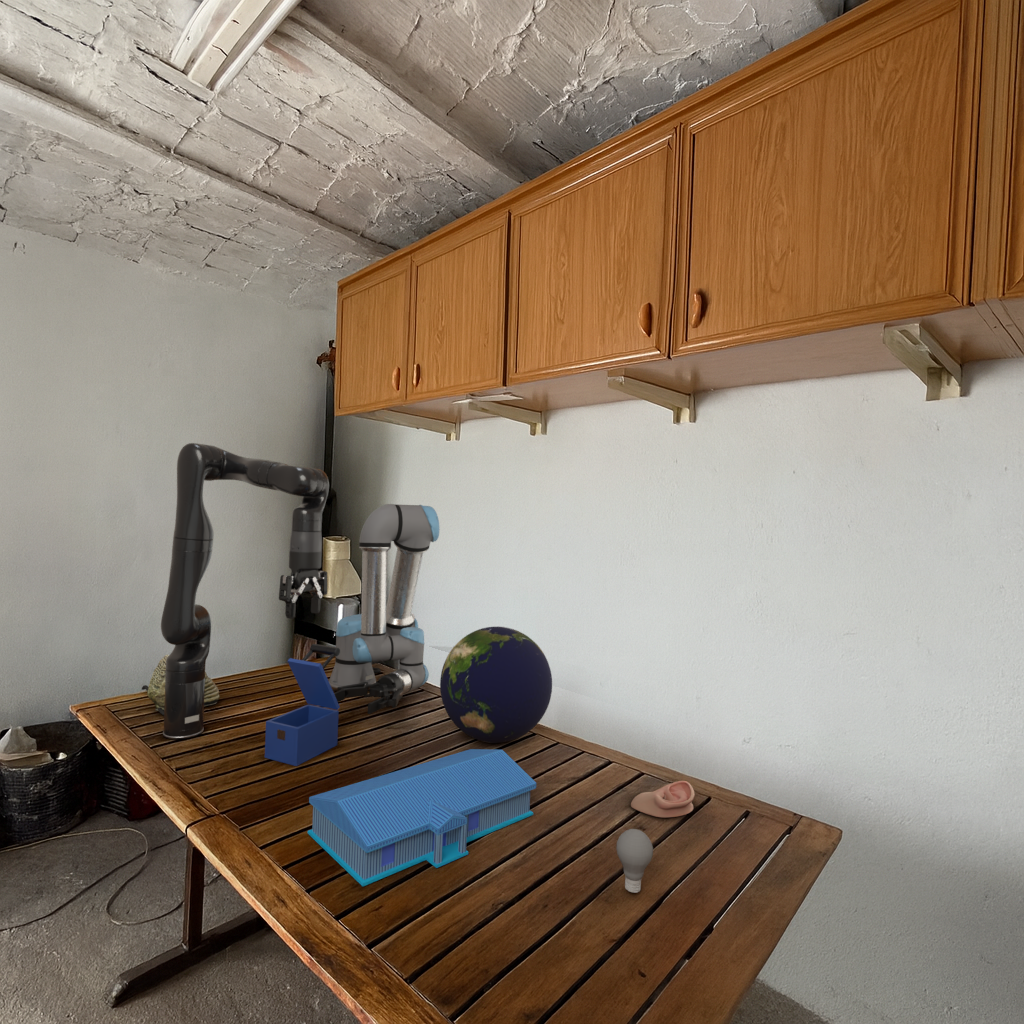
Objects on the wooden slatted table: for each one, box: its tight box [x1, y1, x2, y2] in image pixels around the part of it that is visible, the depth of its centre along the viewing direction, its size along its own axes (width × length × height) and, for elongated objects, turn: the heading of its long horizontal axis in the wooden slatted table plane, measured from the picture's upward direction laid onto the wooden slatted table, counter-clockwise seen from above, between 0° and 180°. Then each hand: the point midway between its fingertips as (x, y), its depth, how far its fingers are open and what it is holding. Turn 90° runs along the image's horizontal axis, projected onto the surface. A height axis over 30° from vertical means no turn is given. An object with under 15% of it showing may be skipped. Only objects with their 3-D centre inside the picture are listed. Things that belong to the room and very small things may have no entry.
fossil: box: [147, 654, 221, 711], centre depth 185 cm, size 9×18×15 cm, turn 132°
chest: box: [264, 703, 339, 767], centre depth 157 cm, size 15×10×9 cm
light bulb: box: [615, 828, 654, 894], centre depth 106 cm, size 6×6×10 cm
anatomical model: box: [630, 780, 695, 818], centre depth 136 cm, size 13×4×12 cm
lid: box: [287, 643, 341, 711], centre depth 163 cm, size 15×10×9 cm
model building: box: [307, 748, 538, 887], centre depth 123 cm, size 39×24×10 cm, turn 132°
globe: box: [439, 625, 553, 744], centre depth 169 cm, size 30×30×30 cm
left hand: (303, 615), depth 155 cm, fingers open, 8 cm apart
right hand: (348, 704), depth 173 cm, fingers open, 13 cm apart
